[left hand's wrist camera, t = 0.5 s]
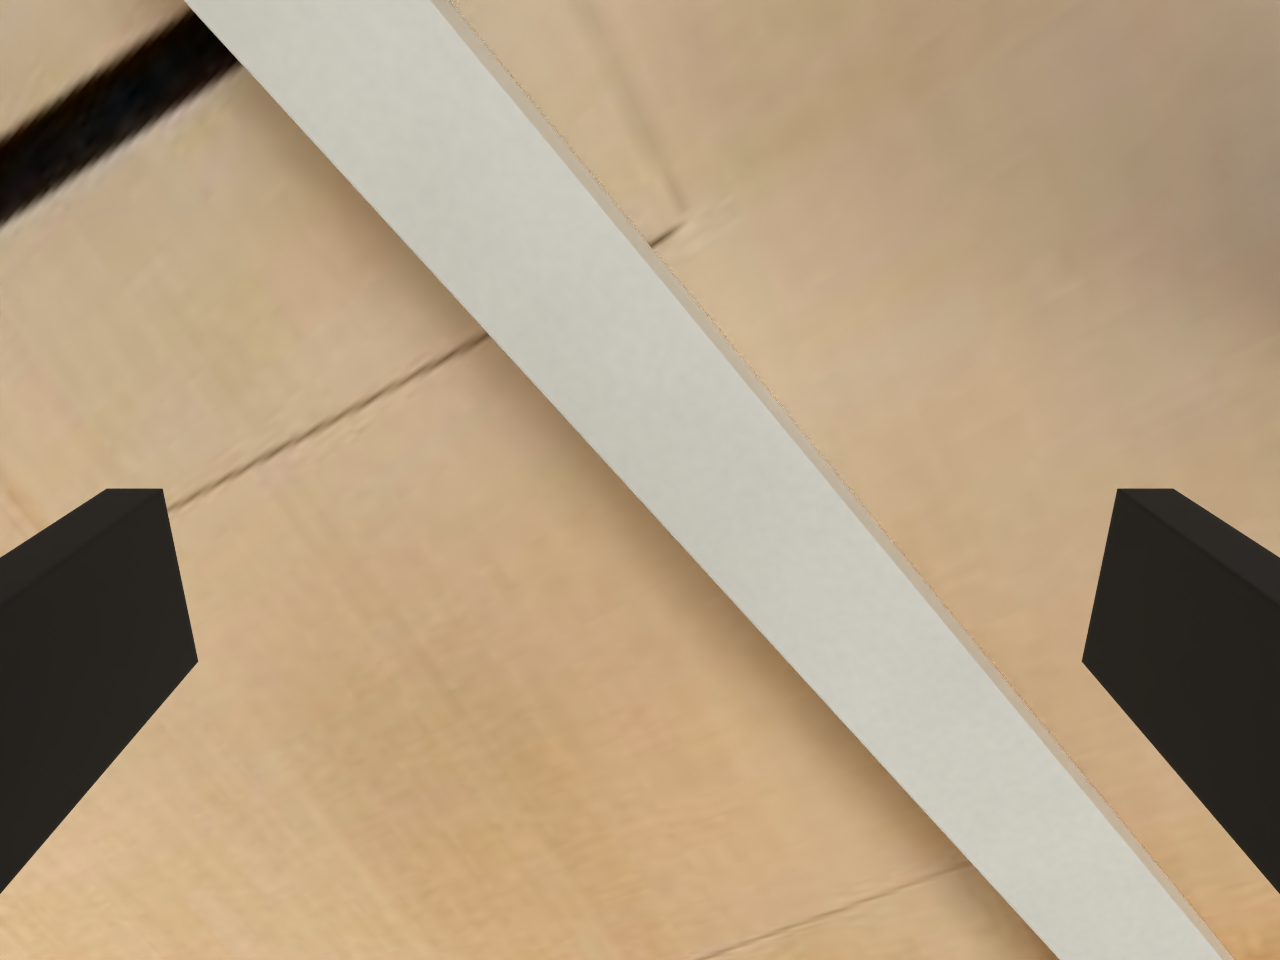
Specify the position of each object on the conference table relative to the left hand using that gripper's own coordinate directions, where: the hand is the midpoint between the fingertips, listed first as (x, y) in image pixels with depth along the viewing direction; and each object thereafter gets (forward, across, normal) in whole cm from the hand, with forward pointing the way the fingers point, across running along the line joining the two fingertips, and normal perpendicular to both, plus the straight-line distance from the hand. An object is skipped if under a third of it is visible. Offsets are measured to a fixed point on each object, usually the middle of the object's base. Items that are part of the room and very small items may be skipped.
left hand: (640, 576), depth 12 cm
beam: (+26, +8, -11) cm, 29 cm away
